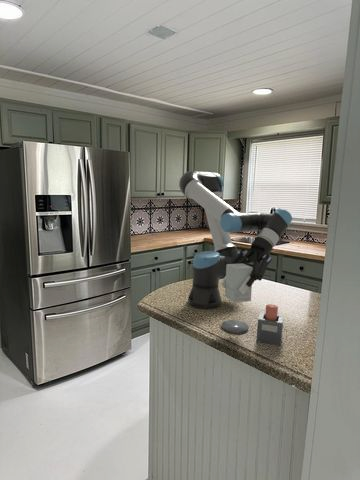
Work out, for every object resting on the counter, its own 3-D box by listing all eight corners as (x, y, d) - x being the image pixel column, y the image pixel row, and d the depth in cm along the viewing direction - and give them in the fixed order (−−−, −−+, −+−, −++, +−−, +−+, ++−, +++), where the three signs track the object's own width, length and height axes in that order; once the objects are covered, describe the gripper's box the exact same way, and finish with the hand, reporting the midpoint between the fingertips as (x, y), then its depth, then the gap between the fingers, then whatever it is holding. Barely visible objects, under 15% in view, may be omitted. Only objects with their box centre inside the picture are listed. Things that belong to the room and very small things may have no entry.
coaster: (218, 330, 118) (218, 328, 118) (224, 320, 127) (225, 318, 127) (245, 335, 114) (246, 333, 114) (250, 325, 124) (250, 322, 123)
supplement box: (251, 301, 116) (253, 267, 114) (232, 303, 114) (234, 268, 112) (241, 295, 123) (243, 262, 121) (224, 296, 121) (225, 263, 119)
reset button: (263, 325, 110) (265, 307, 109) (265, 321, 114) (266, 303, 113) (275, 328, 109) (277, 309, 108) (276, 323, 113) (278, 305, 112)
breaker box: (256, 341, 110) (257, 319, 109) (259, 332, 117) (260, 312, 116) (280, 345, 108) (282, 323, 106) (281, 337, 114) (283, 315, 113)
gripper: (292, 253, 116) (258, 303, 109) (248, 244, 133) (217, 287, 127) (283, 240, 112) (248, 291, 106) (240, 232, 130) (207, 275, 123)
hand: (231, 288), depth 116 cm, fingers closed on supplement box, 9 cm apart
